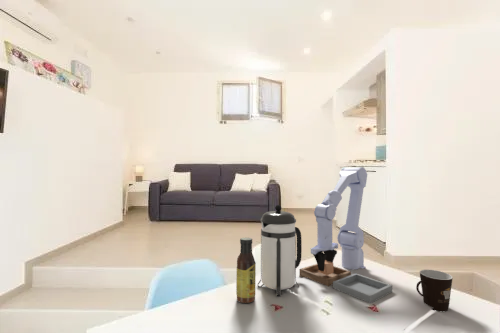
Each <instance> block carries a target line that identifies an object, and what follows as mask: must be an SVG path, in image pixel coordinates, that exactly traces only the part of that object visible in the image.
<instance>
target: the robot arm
mask: <svg viewBox="0 0 500 333" xmlns="http://www.w3.org/2000/svg"><path fill="white" fill-rule="evenodd" d="M367 180H368V172H367V170H366V168H365V167H363V166H358V167H353V166H352V167H347V166H346V167H345V166H343V167H342V168H341V169H340V171H339V179H338V180H337V183H336V184H335V186H334V188H333V189H332V190H329V191H328V193H327V194H326V196H325V197H324V199H322V202H321V203H318V204H317V205H316V206H315V209H314V210H313V214H314V216H315V220H316V221H315V222H316V223H317V225H316V226H317V227H316V228H317V231H316V232H317V234H316V235H317V240H316V241H317V244H316V245H315V246H313V247H311V248H310V254H311V255H313V257H314V259H315V262H316V264H317V265H318V269H319V270H320V271H324V266H325V260H327V261H330V262H333V263H334V260H335V257H336V255H337V254H338V249H339V247H340V248H341V264H340V265H338V267H340V266H341V267H343V269H346V270H358V269H366V266H365V264H364V260H365V258H364V257H365V255H364V251H363V249H362V248H363V246H364V244H365V237H364V231H363V229H361V227H359V222H360V216H361V210H362V209H361V208H362V202H363V195H364V188H365V187H367ZM347 187H349V189H350V194H349V201H348V206H347V214H346V220H345V224H343V225H341V226H339V227H340V228H339V231H338V234H337V236H336V239H337V242H333V220H334V219H335V217H336V212H337V210H338V209H337V208H338V206H339V204H340V203H341V201H342V198H343V197H342V194H343V192H344V191H345V190H346V189H347ZM336 249H337V250H336Z"/></svg>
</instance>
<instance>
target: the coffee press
mask: <svg viewBox="0 0 500 333" xmlns="http://www.w3.org/2000/svg"><path fill="white" fill-rule="evenodd" d="M274 208H275V210H271V211H266V212H265V213H264V214H262V216H261V218H260V223H261V229H260V236H261V279H260V280H259V281H258V283H257V288H258V289H261V288H263V286H265V287H266V288H268V289H271V290H276V297H281V295H282V293H281V291H282V290H288V289H291V288H292V287H294V288H295V285H297V286H298V287H300V286H299V283H298V282H297V279H296V278H297V271H296V270H297V268H299V266H300V263H301V261H302V232H301V230H300V228H299V227H296V223H297V218H295V215H294V214H293V213H291V212H288V211H285V210H284V211H282V206H281V205H280V204H276V205H275V206H274ZM260 283H262V284H261V285H260Z"/></svg>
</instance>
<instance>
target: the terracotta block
mask: <svg viewBox="0 0 500 333" xmlns="http://www.w3.org/2000/svg"><path fill="white" fill-rule="evenodd" d="M333 266H334V261H333V262H330V261H327V260H325V266H324V271H320V270H319V272H320V273H322V274H325V275H329V274H332V273H333Z"/></svg>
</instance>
